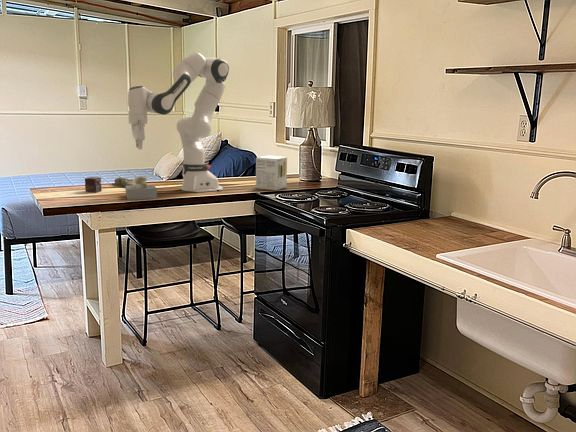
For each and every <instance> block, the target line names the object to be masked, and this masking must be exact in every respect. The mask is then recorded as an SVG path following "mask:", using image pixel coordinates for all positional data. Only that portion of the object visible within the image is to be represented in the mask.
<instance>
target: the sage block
mask: <svg viewBox="0 0 576 432" xmlns="http://www.w3.org/2000/svg"><path fill="white" fill-rule="evenodd" d="M134 180H135V187H136V188H147V185H148V184H147V177H146V176H135V177H134Z"/></svg>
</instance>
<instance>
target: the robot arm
mask: <svg viewBox="0 0 576 432" xmlns="http://www.w3.org/2000/svg"><path fill="white" fill-rule="evenodd" d="M229 71H230V66H229V63H228V62H227V61H226V60H224V59H222V58H217V57H211V56H210V57H208V56H207V57H206V56H203V54H202V53H199V52H197V51H196V52H192V53H190V54H189V55H187V56H185V57H184V58H183V59H182V60H180V62H179V63H178V64H177V65H176V66H175V67H174V69H173V70H172V77H173V79H174V82H173V83H172V85H171V86H170V87H169V88H168V89H166V91H164V92H161V93H158V92H156V93H154V92H153V91H151V90H149V89H147V88H146V87H145V86H143V85H137V86H136V85H135V86H132V87H130V88H128V93H127V106H128V124H130V125H131V132H132V136H133V138H134V139H135V147H136V148H138V150H143V143H144V141H145V139H146V138H145V137H146V135H145V127H146V126H145V125H147V124H148V113H151V114H158V115H164V116H165V115H167V114H170V113H171V112H172V110H173V108H174V106H175V105H176V102H177V101H178V100H179V98H180V97H181V96H182V95H183V93H185V91H187V89H188V87H190V86H191V84H192V83H193V82H194V81H195V80H196V79H197V78H198V77H199V78H203V79H204V78H205V84H204V86H203V87H202V89H201V91H200V92H199V95H198V96H197V99H196V100H195V102H194V110H193V113H192V115H191V116H184V117H182V118H180V119H178V121H177V123H176V131H177V132H178V133H179V137H180V139H181V145H182V150H183V151H182V152H183V163H182V173H183V176H182V184H181V188H180V190H181V191H185V192H195V193H203V192H216V191H217V190H219V191H223V188H224V187H223V186H221V185H220V183H219V179H218V178H217V176H216V175H214V174H213V173H212V172H211V171H209V170H210V169H211V165H210V164H206V163H205V149H204V146H203V145H202V141H201V139H205V138H207V137H209V135H210V134H211V132H212V125H211V123H212V118H213V116H214V112H215V111H216V109H217V107H218V105H219V103H220V101H221V99H222V97H223V94H224V91H225V88H226V84H225V81H226V80H227V77H228V75H229ZM217 192H218V191H217Z"/></svg>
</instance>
